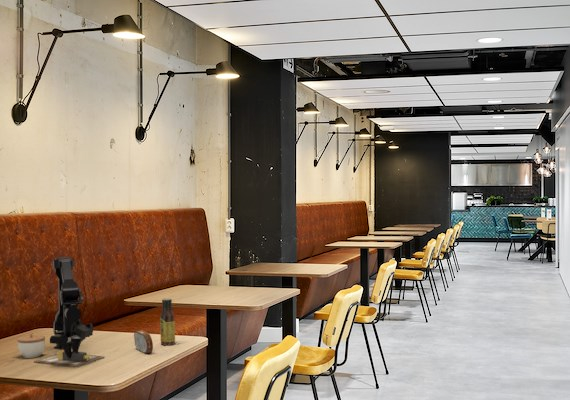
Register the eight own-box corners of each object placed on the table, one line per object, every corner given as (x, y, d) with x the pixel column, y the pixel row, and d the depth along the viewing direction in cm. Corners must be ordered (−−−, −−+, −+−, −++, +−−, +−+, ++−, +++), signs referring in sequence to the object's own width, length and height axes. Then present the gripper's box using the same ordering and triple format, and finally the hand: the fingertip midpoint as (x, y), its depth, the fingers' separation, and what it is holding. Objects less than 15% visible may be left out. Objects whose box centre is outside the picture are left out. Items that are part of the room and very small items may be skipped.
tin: (153, 354, 304) (153, 333, 304) (146, 355, 302) (145, 334, 302) (140, 348, 317) (139, 328, 316) (133, 349, 315) (132, 329, 315)
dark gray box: (57, 359, 295) (57, 351, 295) (63, 357, 298) (63, 350, 298) (85, 362, 289) (85, 354, 289) (91, 360, 292) (90, 352, 292)
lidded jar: (51, 354, 309) (50, 331, 309) (34, 360, 299) (33, 336, 299) (29, 352, 312) (28, 330, 312) (12, 358, 302) (11, 335, 302)
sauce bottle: (161, 343, 325) (160, 297, 325) (175, 342, 326) (174, 297, 325) (160, 346, 318) (158, 300, 318) (174, 345, 319) (173, 299, 319)
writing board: (34, 362, 294) (34, 360, 294) (62, 353, 309) (62, 352, 309) (77, 367, 285) (77, 365, 285) (104, 357, 299) (104, 356, 299)
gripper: (70, 323, 282) (71, 364, 282) (102, 315, 298) (103, 353, 299) (48, 321, 286) (49, 362, 287) (80, 313, 303) (82, 351, 303)
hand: (72, 357), depth 294 cm, fingers closed on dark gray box, 3 cm apart
